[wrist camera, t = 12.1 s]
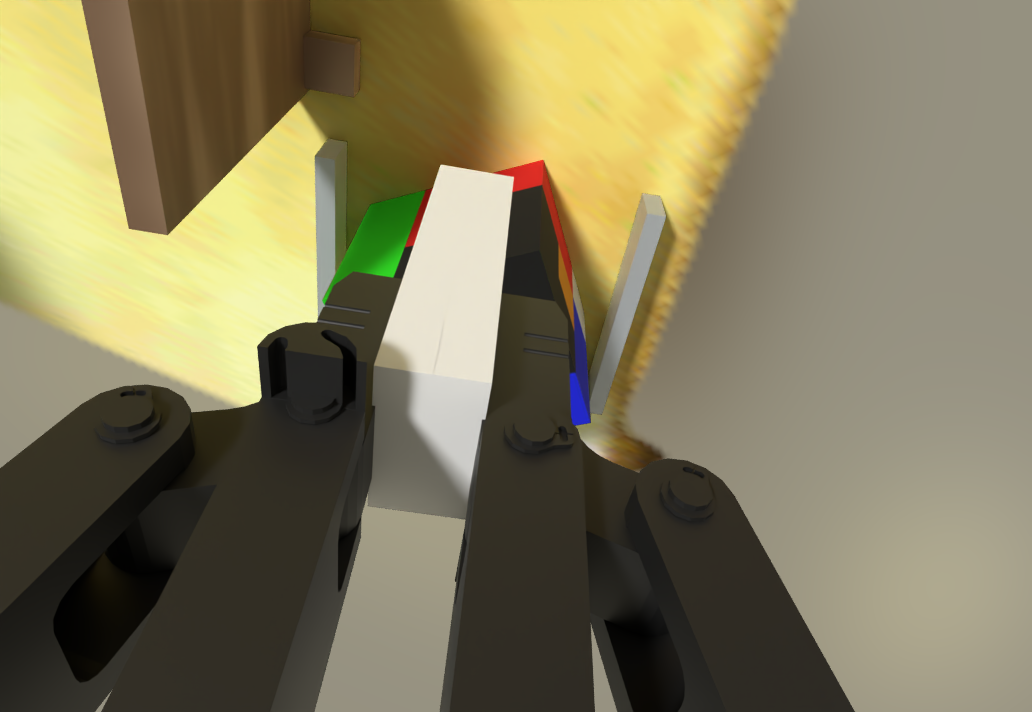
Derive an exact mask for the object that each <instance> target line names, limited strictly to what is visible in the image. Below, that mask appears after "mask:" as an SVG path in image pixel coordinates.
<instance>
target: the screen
mask: <svg viewBox="0 0 1032 712" xmlns="http://www.w3.org/2000/svg"><path fill="white" fill-rule="evenodd" d="M81 1H82V6H83V10H84V15H85V20H86V25H87V30H88V34H89V39H90V44H91V49H92V54H93V58H94V63H95V68H96V73H97V78H98V82H99V87H100V92H101V97H102V102H103V106H104V111H105V116H106V121H107V126H108V130H109V135H110V140H111V145H112V150H113V154H114V159H115V164H116V169H117V174H118V178H119V183H120V188H121V193H122V198H123V202H124V207H125V212H126V217H127V222H128V226H129V229H134V230H140V231H146V232H152V233H158V234H164V235H168V234H169V233H170V232H171V231H172V230H173V229H174V228H175V227H176V226H177V225H178V224H179V223H180V222H181V221H182V220H183V219H184V218H185V217H186V216H187V215H188V214H189V213H190V212H191V211H192V210H193V209H194V208H195V207H196V206H197V205H198V203H199V202H200V201H201V200H202V199H203V198H204V197H205V196H206V195H207V194H208V193H209V192H210V191H211V190H212V189H213V188H214V187H215V186H216V185H217V184H218V183H219V182H220V181H221V180H222V179H223V178H224V177H225V176H226V175H227V174H228V173H229V172H230V171H231V170H232V169H233V168H234V167H235V166H236V165H237V164H238V163H239V162H240V160H241V159H242V158H243V157H244V156H245V155H246V154H247V153H248V152H249V151H250V150H251V149H252V148H253V147H254V146H255V145H256V144H257V143H258V142H259V141H260V140H261V139H262V138H263V137H264V136H265V135H266V134H267V133H268V132H269V131H270V130H271V129H272V128H273V127H274V126H275V125H276V124H277V123H278V122H279V121H280V120H281V119H282V117H283V116H284V115H285V114H286V113H287V112H288V111H289V110H290V109H291V108H292V107H293V106H294V105H295V104H296V103H297V102H298V101H299V100H300V99H301V98H302V97H303V96H304V95H305V94H306V93H307V92H308V91H309V90H310V89H311V90H316V91H322V92H328V93H333V94H339V95H344V96H350V97H354V96H355V95H356V94H357V93H358V91H359V90H360V40H361V39H356V38H351V37H345V36H340V35H334V34H329V33H323V32H318V31H312V30H311V29H310V0H81Z"/></svg>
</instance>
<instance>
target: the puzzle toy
mask: <svg viewBox="0 0 1032 712" xmlns="http://www.w3.org/2000/svg"><path fill="white" fill-rule="evenodd" d="M493 174H499V175H505V176H511V177H514V181H513V190H512V199H511V209H510V218H509V228H508V237H507V247H506V256H505V265H504V275H503V284H502V293H506V294H512V295H518V296H525V297H531V298H537V299H543V300H550V301H556V303H557V305H558V306H559V308H560V309H561V311H562V312H563V314H564V315H565V317H566V318H567V320H568V343H569V358H568V359H569V369H570V396H571V418H572V423H573V424H574V426H576V425H581V424H587V423H591V418H590V401H589V385H588V368H587V352H586V335H585V318H584V310H583V306H582V302H581V299H580V295H579V291H578V288H577V284H576V280H575V276H574V273H573V269H572V265H571V261H570V258H569V254H568V250H567V246H566V243H565V239H564V235H563V232H562V228H561V224H560V220H559V217H558V213H557V209H556V205H555V202H554V198H553V194H552V190H551V187H550V183H549V179H548V176H547V172H546V168H545V164H544V161H543V160H541V161H537V162H533V163H529V164H525V165H521V166H518V167H514V168H510V169H506V170H502V171H498V172H494V173H493ZM432 189H433V188H432ZM432 189H428V190H424V191H421V192H417V193H413V194H409V195H405V196H401V197H397V198H393V199H390V200H386V201H382V202H378V203H374V204H370V206H369V208H368V210H367V212H366V214H365V216H364V218H363V220H362V222H361V224H360V226H359V228H358V230H357V232H356V234H355V236H354V238H353V240H352V242H351V244H350V246H349V248H348V250H347V252H346V254H345V256H344V258H343V260H342V262H341V264H340V265H339V267H338V269H337V271H336V273H335V275H334V277H333V279H332V281H331V283H330V285H329V287H328V289H327V291H326V293H325V295H324V297H323V299H322V301H323V303H324V305H325V302H326V300H327V298H328V296H329V294H330V292H331V290H332V288H333V286H334V285H335V284H336V283H338V282H339V281H340V280H342V279H343V278H345V277H346V276H348V275H349V274H350V273H352V272H353V271H355V272H361V273H368V274H374V275H380V276H386V277H393V278H399V279H403V276H404V273H405V270H406V267H407V264H408V261H409V258H410V255H411V252H412V249H413V246H414V243H415V240H416V237H417V234H418V231H419V228H420V225H421V222H422V219H423V216H424V213H425V210H426V207H427V204H428V201H429V198H430V195H431V192H432Z"/></svg>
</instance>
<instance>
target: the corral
mask: <svg viewBox="0 0 1032 712" xmlns="http://www.w3.org/2000/svg"><path fill="white" fill-rule="evenodd" d="M315 192H316V240H317V288H318V317H319V315H320V313H321V311H322V309H323V307H325V305H324V303H323V301H322V299H323V297H324V295H325V293H326V291H327V289H328V287H329V285H330V283H331V281H332V279H333V277H334V275H335V273H336V271H337V269H338V267H339V265H340V264H341V262H342V260H343V258H344V256H345V254H346V208H347V142H345V141H339V140H333V139H327V141H326V142H325V143H324V145H323V146H322V147H321V149H320V150H319V151H318V153H317V154H316V155H315ZM665 219H666V214H665V211H664V207H663V204H662V200H661V197H660V196H656V195H650V194H644V193H642V196H641V199H640V203H639V206H638V210H637V213H636V216H635V220H634V223H633V227H632V230H631V233H630V237H629V240H628V244H627V247H626V250H625V254H624V257H623V261H622V264H621V267H620V271H619V274H618V277H617V281H616V284H615V288H614V291H613V294H612V298H611V301H610V305H609V308H608V311H607V315H606V318H605V322H604V325H603V328H602V332H601V335H600V339H599V342H598V345H597V349H596V352H595V355H594V359H593V362H592V366H591V369H590V372H589V376H588V385H589V401H590V413H594V414H601V415H602V413H603V410H604V407H605V403H606V400H607V397H608V394H609V391H610V388H611V385H612V382H613V379H614V376H615V373H616V370H617V367H618V364H619V360H620V357H621V354H622V351H623V348H624V345H625V342H626V339H627V336H628V333H629V330H630V327H631V324H632V321H633V317H634V314H635V311H636V308H637V305H638V302H639V299H640V296H641V293H642V290H643V287H644V284H645V281H646V277H647V274H648V271H649V268H650V265H651V262H652V259H653V256H654V253H655V250H656V247H657V244H658V241H659V238H660V234H661V231H662V228H663V225H664V222H665Z"/></svg>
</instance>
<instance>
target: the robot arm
mask: <svg viewBox="0 0 1032 712" xmlns="http://www.w3.org/2000/svg"><path fill="white" fill-rule="evenodd" d="M513 181H514V177H511V176H505V175H499V174H493V173H487V172H482V171H476V170H470V169H464V168H458V167H452V166H447V165H440V168H439V171H438V174H437V177H436V180H435V183H434V186H433V189H432V192H431V195H430V198H429V201H428V204H427V207H426V210H425V213H424V216H423V219H422V222H421V225H420V228H419V231H418V234H417V237H416V240H415V243H414V246H413V249H412V252H411V255H410V258H409V261H408V264H407V267H406V270H405V273H404V276H403V279H399V278H393V277H386V276H380V275H374V274H368V273H361V272H355V271H353V272H352V273H350V274H349V275H348V276H346V277H345V278H343V279H342V280H340V281H339V282H338V283H336V284H335V285H334V286H333V288H332V290H331V292H330V294H329V296H328V298H327V300H326V302H325V307H323V309H322V311H321V313H320V315H319V317H318V321H317V322H316V323H307V322H305V323H300V324H295V325H290V326H285V327H283V328H281V329H279V330H277V331H275V332H272V333H270V334H268V335H267V336H266V337H265V338H264V340H263V341H262V342H261V343H260V344H259V345H258V346H257V349H258V360H259V371H260V382H261V393H262V398H261V399H260V401H259V402H257V403H254V404H251V405H248V406H245V407H239V408H233V409H227V410H215V411H203V412H191V409H190V407H189V406H188V404H187V403H186V401H185V400H184V398H183V397H182V396H180V395H179V394H177V393H175V392H173V391H172V390H170V389H168V388H164V387H157V386H152V385H134V386H123V387H120V388H116V389H113V390H110V391H106V392H103V393H100V394H98V395H97V396H95V397H93V398H92V399H90V400H88V401H86V402H85V403H83V404H81V405H80V406H79V407H78V408H76V409H75V410H74V411H72V412H71V413H70V414H69V415H67V416H66V417H65V418H64V419H62V420H61V421H60V422H58V423H57V424H56V425H55V426H53V427H52V428H51V429H50V430H48V431H47V432H46V433H45V434H43V435H42V436H41V437H40V438H38V439H37V440H36V441H34V442H33V443H32V444H31V445H29V446H28V447H27V448H25V449H24V450H23V451H22V452H20V453H19V454H18V455H17V456H15V457H14V458H13V459H12V460H10V461H9V462H8V463H6V464H5V465H4V466H3V467H1V468H0V712H95V711H96V710H97V708H98V707H99V706H100V705H101V703H102V702H103V701H104V699H105V698H106V697H107V696H108V694H109V693H110V692H111V690H112V689H113V690H112V692H111V694H110V696H109V698H108V700H107V702H106V703H105V705H104V707H103V709H102V711H101V712H314V711H315V707H316V703H317V700H318V696H319V692H320V688H321V685H322V681H323V677H324V673H325V670H326V666H327V662H328V659H329V655H330V651H331V647H332V643H333V640H334V636H335V632H336V629H337V624H338V621H339V617H340V613H341V610H342V606H343V602H344V599H345V595H346V591H347V587H348V584H349V580H350V576H351V572H352V569H353V565H354V561H355V557H356V553H357V550H358V546H359V542H360V538H361V515H362V512H363V508H364V505H365V501H366V497H367V494H368V506H370V507H378V508H385V509H392V510H400V511H407V512H415V513H422V514H429V515H437V516H443V517H451V518H459V519H465V520H466V521H465V529H464V534H463V540H462V545H461V551H460V556H459V562H458V567H457V572H456V577H455V582H456V589H455V597H454V604H453V612H452V620H451V628H450V636H449V644H448V651H447V659H446V667H445V674H444V683H443V690H442V698H441V705H440V712H595V706H594V705H595V704H594V683H593V663H592V643H591V625H592V628H593V632H594V635H595V638H596V642H597V645H598V648H599V652H600V655H601V659H602V662H603V665H604V669H605V672H606V675H607V678H608V682H609V685H610V689H611V692H612V695H613V698H614V702H615V705H616V708H617V712H855V711H854V709H853V708H852V706H851V704H850V702H849V700H848V699H847V697H846V695H845V693H844V692H843V690H842V688H841V686H840V685H839V682H838V681H837V679H836V677H835V675H834V674H833V672H832V670H831V668H830V666H829V665H828V663H827V661H826V659H825V658H824V656H823V654H822V652H821V650H820V648H819V647H818V645H817V643H816V641H815V639H814V638H813V636H812V634H811V633H810V631H809V629H808V627H807V625H806V623H805V622H804V620H803V618H802V616H801V615H800V613H799V611H798V609H797V607H796V605H795V604H794V602H793V600H792V598H791V596H790V595H789V593H788V591H787V589H786V588H785V586H784V584H783V582H782V580H781V579H780V577H779V575H778V573H777V572H776V570H775V568H774V566H773V564H772V563H771V561H770V559H769V557H768V555H767V553H766V552H765V550H764V548H763V546H762V545H761V543H760V541H759V539H758V537H757V536H756V534H755V532H754V530H753V528H752V527H751V525H750V523H749V521H748V519H747V518H746V516H745V514H744V512H743V510H742V509H741V507H740V505H739V503H738V501H737V500H736V498H735V496H734V495H733V494H732V492H731V491H730V490H729V488H728V487H727V486H726V485H725V483H724V482H723V481H722V480H721V479H720V478H718V477H717V476H716V475H714V474H713V473H711V472H710V471H708V470H707V469H706V468H704V467H701V466H698V465H696V464H693V463H691V462H689V461H685V460H677V459H663V460H659V461H654V462H651V463H650V464H648V465H647V466H646V467H645V468H643V469H642V470H641V471H640V473H637V472H635V471H632V470H630V469H627V468H625V467H623V466H620V465H618V464H615V463H613V462H611V461H609V460H607V459H605V458H603V457H601V456H599V455H598V454H596V453H595V452H594V451H592V450H591V449H590V448H588V447H587V446H586V444H585V443H584V442H583V441H582V440H581V439H580V436H579V432H578V429H577V428H576V427H575V426H574V424H573V423H572V418H571V396H570V369H569V359H568V358H569V343H568V320H567V318H566V317H565V315H564V314H563V312H562V311H561V309H560V308H559V306H558V305H557V303H556V301H550V300H543V299H537V298H531V297H525V296H518V295H512V294H506V293H502V284H503V275H504V265H505V256H506V247H507V237H508V228H509V218H510V209H511V199H512V190H513Z"/></svg>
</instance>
